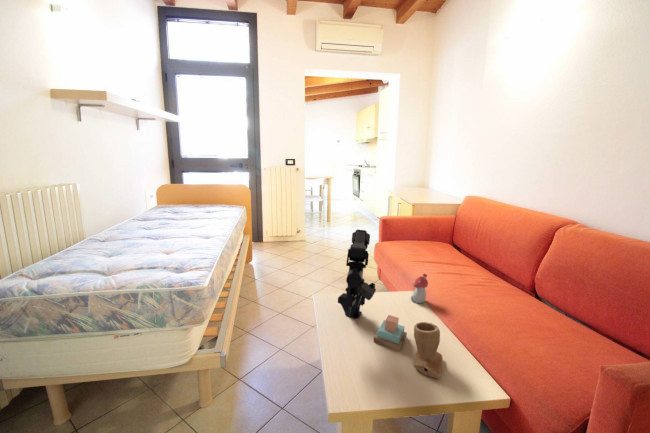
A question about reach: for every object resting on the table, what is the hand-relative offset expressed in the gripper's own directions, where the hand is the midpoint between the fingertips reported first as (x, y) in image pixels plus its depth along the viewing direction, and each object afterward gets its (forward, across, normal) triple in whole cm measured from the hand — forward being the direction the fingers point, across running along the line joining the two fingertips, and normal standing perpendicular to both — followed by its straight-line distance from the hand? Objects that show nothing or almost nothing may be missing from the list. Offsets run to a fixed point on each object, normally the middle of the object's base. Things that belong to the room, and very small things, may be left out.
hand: (352, 311), depth 126 cm
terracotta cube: (+7, +8, -15) cm, 18 cm away
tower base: (+13, +8, -15) cm, 21 cm away
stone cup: (+12, +1, -31) cm, 33 cm away
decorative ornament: (+12, +51, -18) cm, 55 cm away
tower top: (+10, +8, -15) cm, 20 cm away
